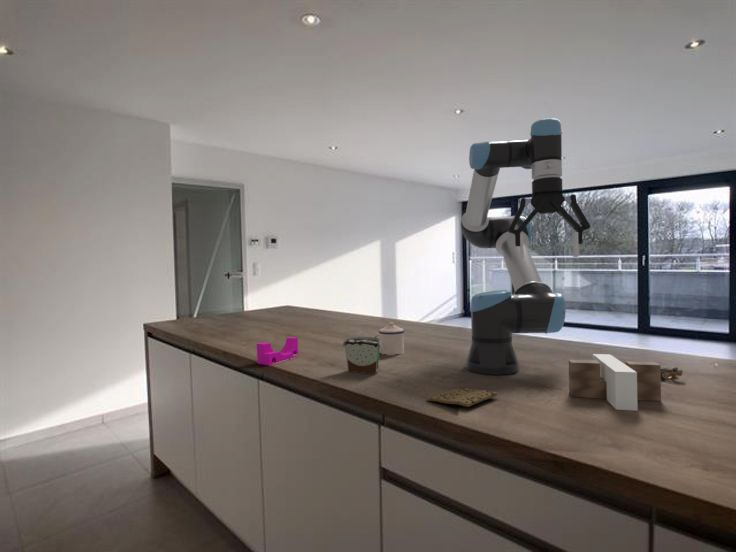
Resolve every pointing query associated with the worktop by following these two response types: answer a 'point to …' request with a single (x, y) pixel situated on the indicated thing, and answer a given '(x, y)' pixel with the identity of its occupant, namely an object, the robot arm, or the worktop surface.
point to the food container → (362, 354)
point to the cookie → (463, 396)
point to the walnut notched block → (592, 386)
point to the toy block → (269, 356)
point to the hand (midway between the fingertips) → (548, 257)
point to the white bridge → (618, 382)
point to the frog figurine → (670, 374)
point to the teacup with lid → (391, 339)
